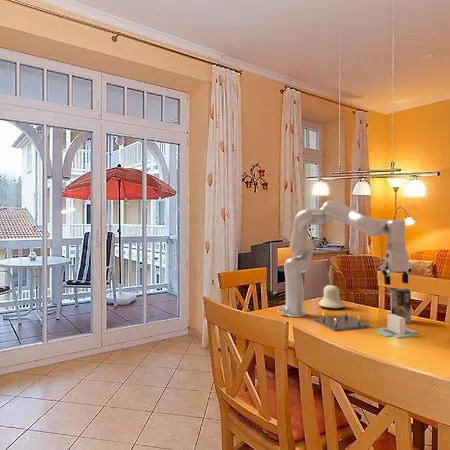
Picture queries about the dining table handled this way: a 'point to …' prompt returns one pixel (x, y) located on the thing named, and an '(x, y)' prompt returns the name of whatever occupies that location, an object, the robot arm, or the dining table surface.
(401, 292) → the coffee box
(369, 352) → the dining table surface
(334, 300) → the handbell
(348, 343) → the dining table surface
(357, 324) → the plate
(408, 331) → the board
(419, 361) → the dining table surface
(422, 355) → the dining table surface
